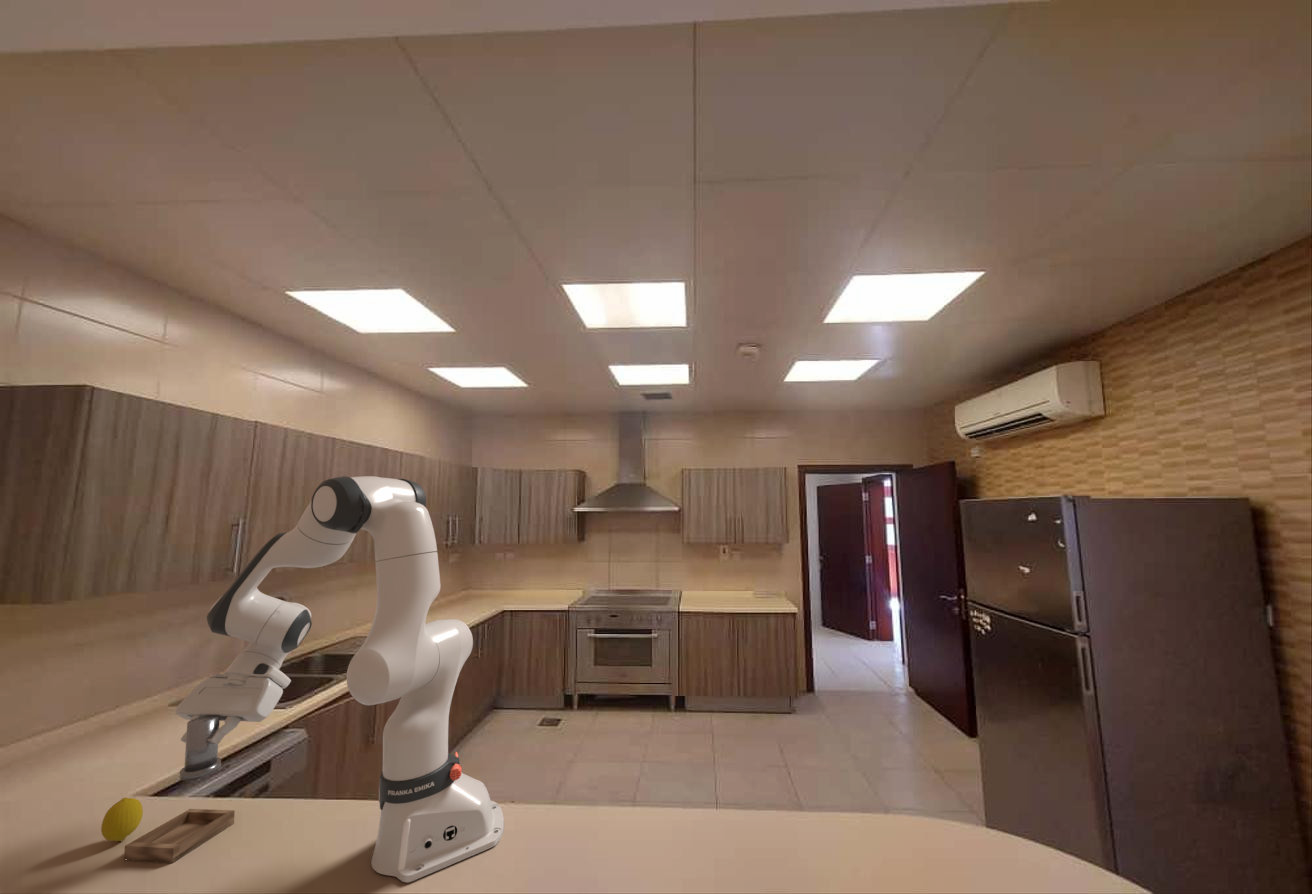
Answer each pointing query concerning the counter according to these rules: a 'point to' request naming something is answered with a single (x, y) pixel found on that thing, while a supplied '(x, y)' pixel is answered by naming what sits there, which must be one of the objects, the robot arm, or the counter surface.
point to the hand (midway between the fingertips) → (198, 742)
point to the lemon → (122, 819)
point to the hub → (200, 748)
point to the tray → (179, 835)
